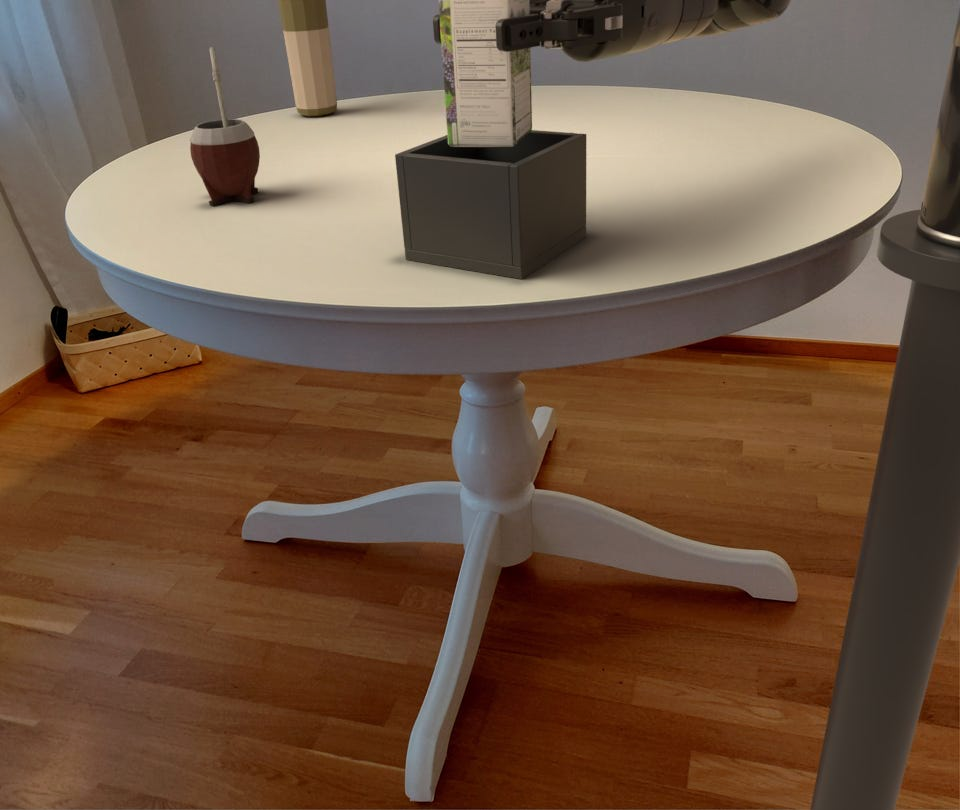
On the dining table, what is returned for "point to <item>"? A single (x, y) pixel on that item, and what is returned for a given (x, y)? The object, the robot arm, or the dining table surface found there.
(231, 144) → the mate gourd
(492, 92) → the syrup box
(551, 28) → the robot arm
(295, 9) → the bottle
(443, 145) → the waste bin
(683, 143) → the dining table surface
